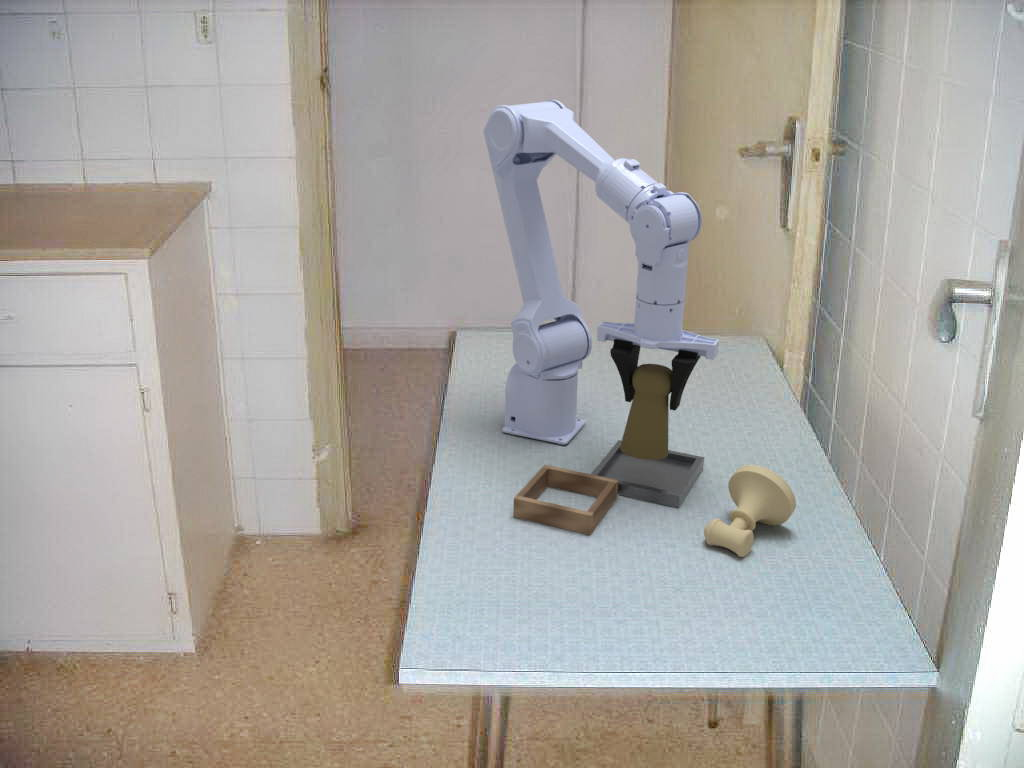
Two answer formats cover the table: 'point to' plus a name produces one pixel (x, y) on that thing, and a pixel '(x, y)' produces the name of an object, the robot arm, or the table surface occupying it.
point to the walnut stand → (563, 515)
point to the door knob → (751, 508)
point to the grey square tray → (652, 475)
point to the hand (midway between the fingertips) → (652, 403)
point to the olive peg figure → (648, 413)
